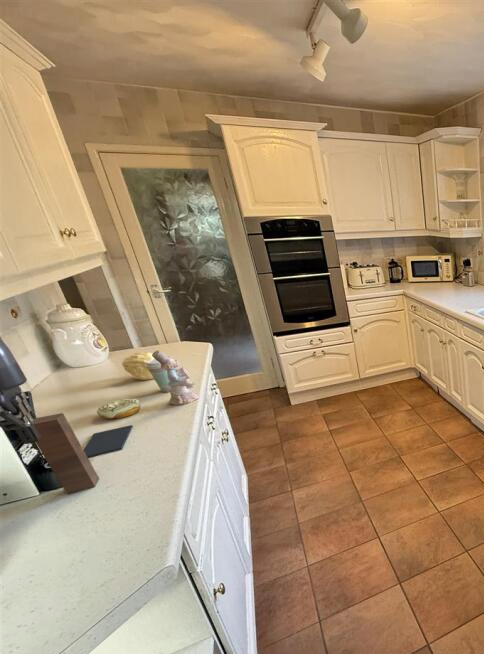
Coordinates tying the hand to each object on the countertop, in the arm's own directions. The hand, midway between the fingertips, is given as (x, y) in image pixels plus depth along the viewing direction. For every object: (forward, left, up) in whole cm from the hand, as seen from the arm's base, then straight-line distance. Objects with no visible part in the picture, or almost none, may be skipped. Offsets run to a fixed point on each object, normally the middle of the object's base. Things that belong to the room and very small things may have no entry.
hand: (33, 441), depth 83 cm
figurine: (+47, +34, -18) cm, 61 cm away
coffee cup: (+52, +51, -18) cm, 75 cm away
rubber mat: (+20, +27, -18) cm, 38 cm away
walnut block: (+5, +7, -18) cm, 20 cm away
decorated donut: (+33, +45, -18) cm, 59 cm away
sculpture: (+58, +73, -18) cm, 95 cm away
